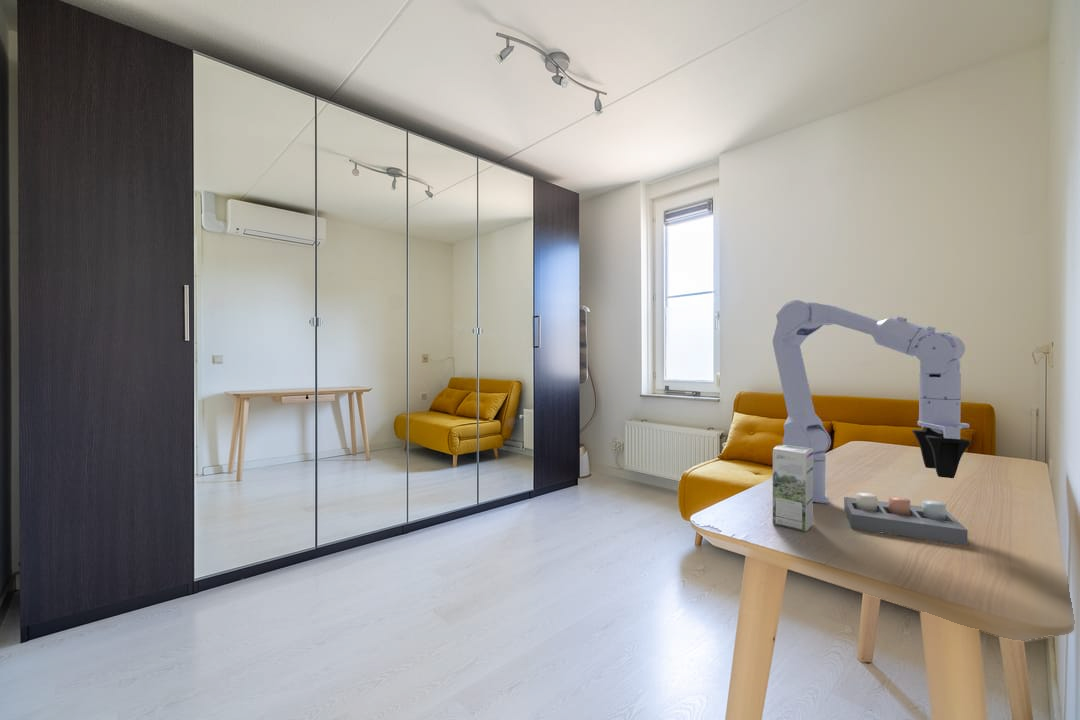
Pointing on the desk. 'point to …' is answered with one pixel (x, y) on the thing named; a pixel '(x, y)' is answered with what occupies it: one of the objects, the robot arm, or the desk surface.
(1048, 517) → the desk surface
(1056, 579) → the desk surface
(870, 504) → the ivory key
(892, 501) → the terracotta key
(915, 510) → the grey compartment tray
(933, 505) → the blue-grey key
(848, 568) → the desk surface
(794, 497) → the syrup box
